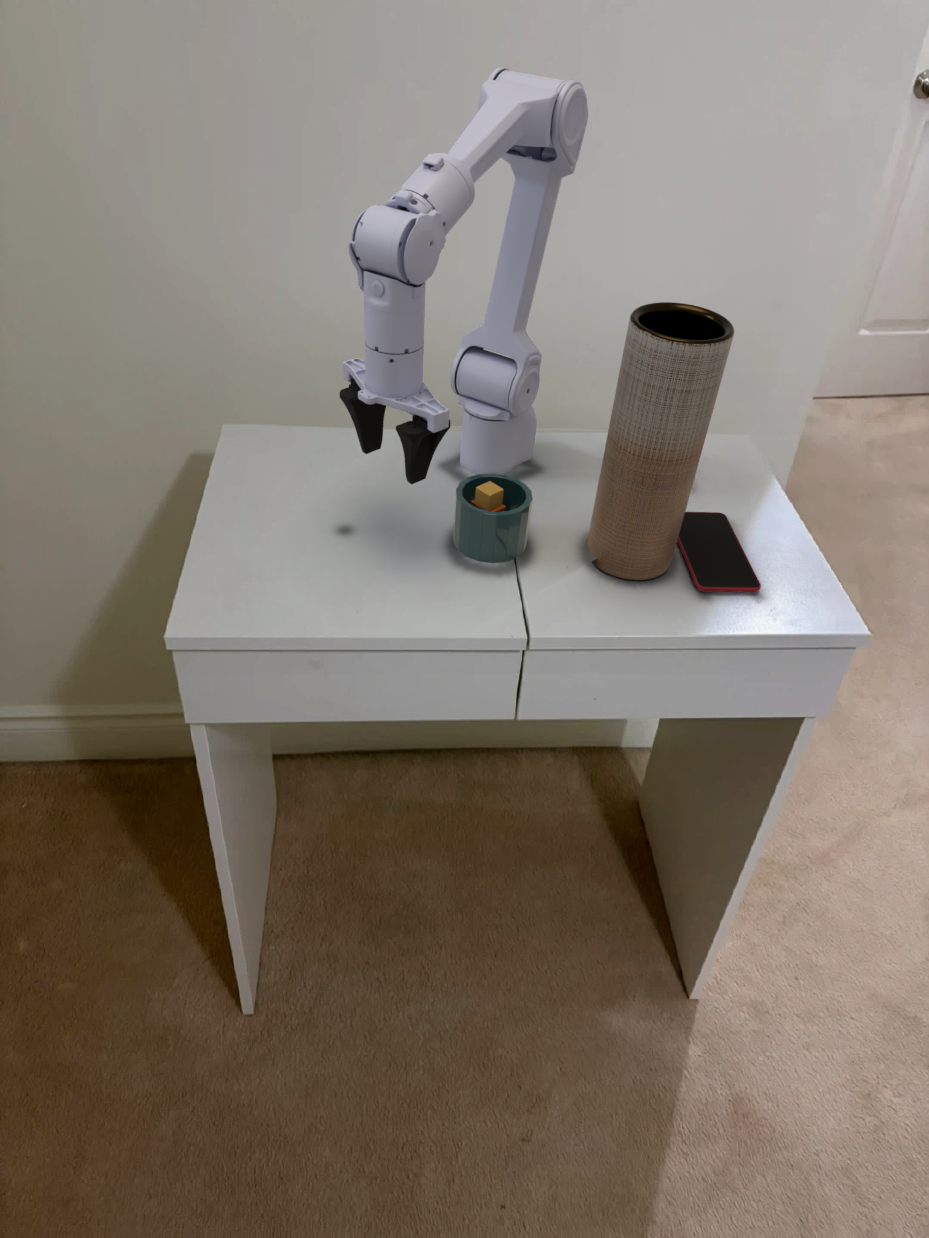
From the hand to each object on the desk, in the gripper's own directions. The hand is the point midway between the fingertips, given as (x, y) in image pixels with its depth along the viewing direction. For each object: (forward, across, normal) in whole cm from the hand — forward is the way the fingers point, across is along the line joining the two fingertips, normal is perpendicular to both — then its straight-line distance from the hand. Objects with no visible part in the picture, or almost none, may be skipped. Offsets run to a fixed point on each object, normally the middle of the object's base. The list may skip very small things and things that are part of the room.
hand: (393, 464), depth 91 cm
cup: (+10, +8, +8) cm, 15 cm away
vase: (+11, +19, +20) cm, 29 cm away
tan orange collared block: (+6, +8, +6) cm, 11 cm away
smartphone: (+10, +25, +28) cm, 39 cm away
